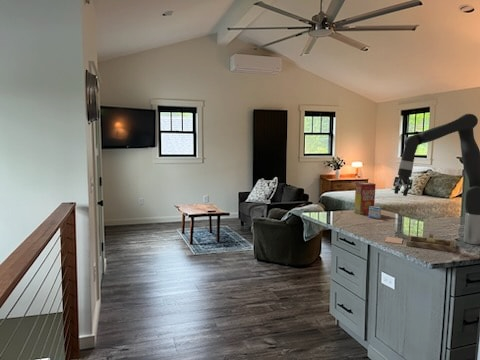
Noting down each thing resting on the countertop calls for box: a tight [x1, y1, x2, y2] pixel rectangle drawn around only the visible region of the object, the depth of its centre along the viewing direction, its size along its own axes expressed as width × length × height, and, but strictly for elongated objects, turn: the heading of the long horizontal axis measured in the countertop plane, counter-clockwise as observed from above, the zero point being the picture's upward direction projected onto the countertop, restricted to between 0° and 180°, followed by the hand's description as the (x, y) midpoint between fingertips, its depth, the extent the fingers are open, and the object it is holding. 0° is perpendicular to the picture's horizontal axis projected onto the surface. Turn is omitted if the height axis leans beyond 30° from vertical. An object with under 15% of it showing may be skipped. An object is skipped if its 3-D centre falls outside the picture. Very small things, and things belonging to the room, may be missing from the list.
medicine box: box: [368, 206, 382, 220], centre depth 278 cm, size 8×4×9 cm, turn 47°
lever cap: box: [425, 233, 436, 244], centre depth 203 cm, size 4×7×6 cm, turn 152°
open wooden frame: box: [406, 235, 457, 253], centre depth 203 cm, size 24×15×2 cm, turn 62°
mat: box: [384, 236, 404, 245], centre depth 212 cm, size 9×12×1 cm
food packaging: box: [353, 182, 376, 216], centre depth 295 cm, size 13×9×25 cm
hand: (400, 194), depth 220 cm, fingers open, 8 cm apart
